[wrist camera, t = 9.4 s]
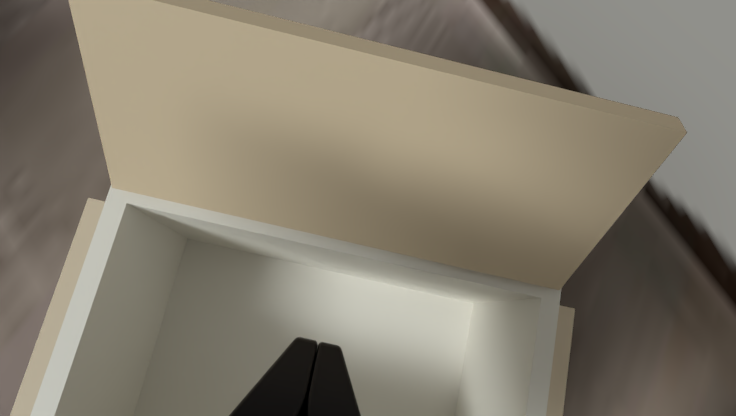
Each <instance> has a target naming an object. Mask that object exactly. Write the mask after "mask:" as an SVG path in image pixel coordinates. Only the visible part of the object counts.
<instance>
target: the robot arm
mask: <svg viewBox="0 0 736 416" xmlns="http://www.w3.org/2000/svg"><path fill="white" fill-rule="evenodd" d="M317 346H318V347H317ZM229 416H361V414H360V411H359V407H358V404H357V400H356V397H355V393H354V390H353V387H352V383H351V380H350V376H349V373H348V369H347V366H346V362H345V359H344V356H343V352H342V349H341V347H340V346H338V345H335V344H330V343H325V342H320V343H319V344H318V343H317V341H315V340H312V339H307V338H302V337H297V338H295V339H294V340H293V341H292V343H291V344H290V345H289V346H288V347H287V348H286V349H285V351H284V352H283V353H282V354H281V355H280V356H279V358H278V359H277V360H276V361H275V362H274V363H273V365H272V366H271V367H270V368H269V369H268V370H267V372H266V373H265V374H264V375H263V376H262V377H261V379H260V380H259V381H258V382H257V383H256V384H255V386H254V387H253V388H252V389H251V390H250V391H249V393H248V394H247V395H246V396H245V397H244V398H243V400H242V401H241V402H240V403H239V404H238V405H237V407H236V408H235V409H234V410H233V411H232V412H231V413H230V415H229Z"/></svg>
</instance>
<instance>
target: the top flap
mask: <svg viewBox="0 0 736 416" xmlns="http://www.w3.org/2000/svg"><path fill="white" fill-rule="evenodd" d="M69 5H70V9H71V13H72V17H73V22H74V26H75V30H76V35H77V39H78V43H79V48H80V52H81V56H82V60H83V65H84V69H85V73H86V78H87V82H88V86H89V90H90V95H91V99H92V103H93V108H94V112H95V116H96V120H97V125H98V129H99V133H100V138H101V142H102V146H103V150H104V155H105V159H106V163H107V168H108V172H109V176H110V180H111V185H112V188H115V189H119V190H124V191H128V192H133V193H137V194H141V195H146V196H150V197H154V198H159V199H163V200H167V201H172V202H176V203H181V204H185V205H189V206H194V207H198V208H202V209H207V210H211V211H215V212H220V213H224V214H229V215H233V216H237V217H242V218H246V219H250V220H255V221H259V222H263V223H268V224H272V225H277V226H281V227H285V228H290V229H294V230H298V231H303V232H307V233H311V234H316V235H320V236H324V237H329V238H333V239H338V240H342V241H346V242H351V243H355V244H359V245H364V246H368V247H372V248H377V249H381V250H386V251H390V252H394V253H399V254H403V255H407V256H412V257H416V258H420V259H425V260H429V261H434V262H438V263H442V264H447V265H451V266H455V267H460V268H464V269H468V270H473V271H477V272H482V273H486V274H490V275H495V276H499V277H503V278H508V279H512V280H516V281H521V282H525V283H530V284H534V285H538V286H543V287H547V288H551V289H556V290H560V289H561V288H562V287H563V285H564V284H565V283H566V282H567V280H568V279H569V278H570V277H571V275H572V274H573V273H574V272H575V271H576V269H577V268H578V267H579V266H580V264H581V263H582V262H583V261H584V259H585V258H586V257H587V256H588V254H589V253H590V252H591V251H592V250H593V248H594V247H595V246H596V245H597V243H598V242H599V241H600V240H601V238H602V237H603V236H604V235H605V233H606V232H607V231H608V230H609V228H610V227H611V226H612V225H613V224H614V222H615V221H616V220H617V219H618V217H619V216H620V215H621V214H622V212H623V211H624V210H625V209H626V207H627V206H628V205H629V204H630V203H631V201H632V200H633V199H634V198H635V196H636V195H637V194H638V193H639V191H640V190H641V189H642V188H643V186H644V185H645V184H646V183H647V182H648V180H649V179H650V178H651V177H652V175H653V174H654V173H655V172H656V170H657V169H658V168H659V167H660V165H661V164H662V163H663V162H664V161H665V159H666V158H667V157H668V156H669V154H670V153H671V152H672V150H673V149H674V148H675V147H676V146H677V144H678V143H679V142H680V141H681V140H682V138H683V137H684V136H685V135H686V133H687V132H686V130H685V129H684V126H683V125H682V123H681V122H680V120H679V118H678V117H675V116H671V115H667V114H662V113H658V112H655V111H651V110H647V109H642V108H639V107H634V106H631V105H626V104H622V103H618V102H614V101H610V100H607V99H602V98H598V97H594V96H590V95H586V94H582V93H578V92H574V91H570V90H566V89H562V88H558V87H554V86H550V85H546V84H542V83H538V82H534V81H530V80H526V79H522V78H518V77H514V76H510V75H506V74H502V73H498V72H494V71H490V70H486V69H482V68H478V67H474V66H470V65H466V64H462V63H458V62H454V61H450V60H446V59H442V58H438V57H434V56H430V55H426V54H422V53H418V52H414V51H410V50H406V49H402V48H398V47H394V46H390V45H386V44H382V43H378V42H374V41H370V40H366V39H362V38H358V37H354V36H350V35H346V34H342V33H338V32H334V31H329V30H325V29H321V28H317V27H313V26H309V25H305V24H301V23H297V22H293V21H289V20H285V19H281V18H277V17H273V16H269V15H265V14H261V13H257V12H253V11H249V10H245V9H241V8H237V7H233V6H229V5H225V4H221V3H217V2H213V1H209V0H69Z"/></svg>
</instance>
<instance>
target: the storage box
mask: <svg viewBox="0 0 736 416" xmlns="http://www.w3.org/2000/svg"><path fill="white" fill-rule="evenodd" d="M561 289H562V288H561ZM561 289H560V290H556V289H551V288H547V287H543V286H538V285H534V284H530V283H525V282H521V281H516V280H512V279H508V278H503V277H499V276H495V275H490V274H486V273H482V272H477V271H473V270H468V269H464V268H460V267H455V266H451V265H447V264H442V263H438V262H434V261H429V260H425V259H420V258H416V257H412V256H407V255H403V254H399V253H394V252H390V251H386V250H381V249H377V248H372V247H368V246H364V245H359V244H355V243H351V242H346V241H342V240H338V239H333V238H329V237H324V236H320V235H316V234H311V233H307V232H303V231H298V230H294V229H290V228H285V227H281V226H277V225H272V224H268V223H263V222H259V221H255V220H250V219H246V218H242V217H237V216H233V215H229V214H224V213H220V212H215V211H211V210H207V209H202V208H198V207H194V206H189V205H185V204H181V203H176V202H172V201H167V200H163V199H159V198H154V197H150V196H146V195H141V194H137V193H133V192H128V191H124V190H119V189H115V188H112V185H111V187H110V190H109V192H108V195H107V198H106V201H105V202H104V201H100V200H96V199H91V198H88V200H87V203H86V206H85V208H84V211H83V214H82V217H81V219H80V222H79V225H78V228H77V231H76V233H75V236H74V239H73V242H72V245H71V247H70V250H69V253H68V256H67V258H66V261H65V264H64V267H63V270H62V272H61V275H60V278H59V281H58V283H57V286H56V289H55V292H54V295H53V297H52V300H51V303H50V306H49V309H48V311H47V314H46V317H45V320H44V322H43V325H42V328H41V331H40V334H39V336H38V339H37V342H36V345H35V347H34V350H33V353H32V356H31V359H30V361H29V364H28V367H27V370H26V372H25V375H24V378H23V381H22V384H21V386H20V389H19V392H18V395H17V398H16V400H15V403H14V406H13V409H12V411H11V414H10V416H229V415H230V413H231V412H232V411H233V410H234V409H235V408H236V407H237V405H238V404H239V403H240V402H241V401H242V400H243V398H244V397H245V396H246V395H247V394H248V393H249V391H250V390H251V389H252V388H253V387H254V386H255V384H256V383H257V382H258V381H259V380H260V379H261V377H262V376H263V375H264V374H265V373H266V372H267V370H268V369H269V368H270V367H271V366H272V365H273V363H274V362H275V361H276V360H277V359H278V358H279V356H280V355H281V354H282V353H283V352H284V351H285V349H286V348H287V347H288V346H289V345H290V344H291V343H292V341H293V340H294V339H295V338H297V337H302V338H307V339H312V340H315V341H317V343H318V344H319V343H320V342H325V343H330V344H335V345H338V346H340V347H341V349H342V352H343V356H344V359H345V362H346V366H347V369H348V373H349V376H350V380H351V383H352V387H353V390H354V393H355V397H356V400H357V404H358V407H359V411H360V414H361V416H563V409H564V401H565V392H566V383H567V374H568V366H569V357H570V348H571V340H572V331H573V322H574V314H575V309H574V308H570V307H565V306H561V305H560V297H561ZM317 347H318V346H317Z"/></svg>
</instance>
